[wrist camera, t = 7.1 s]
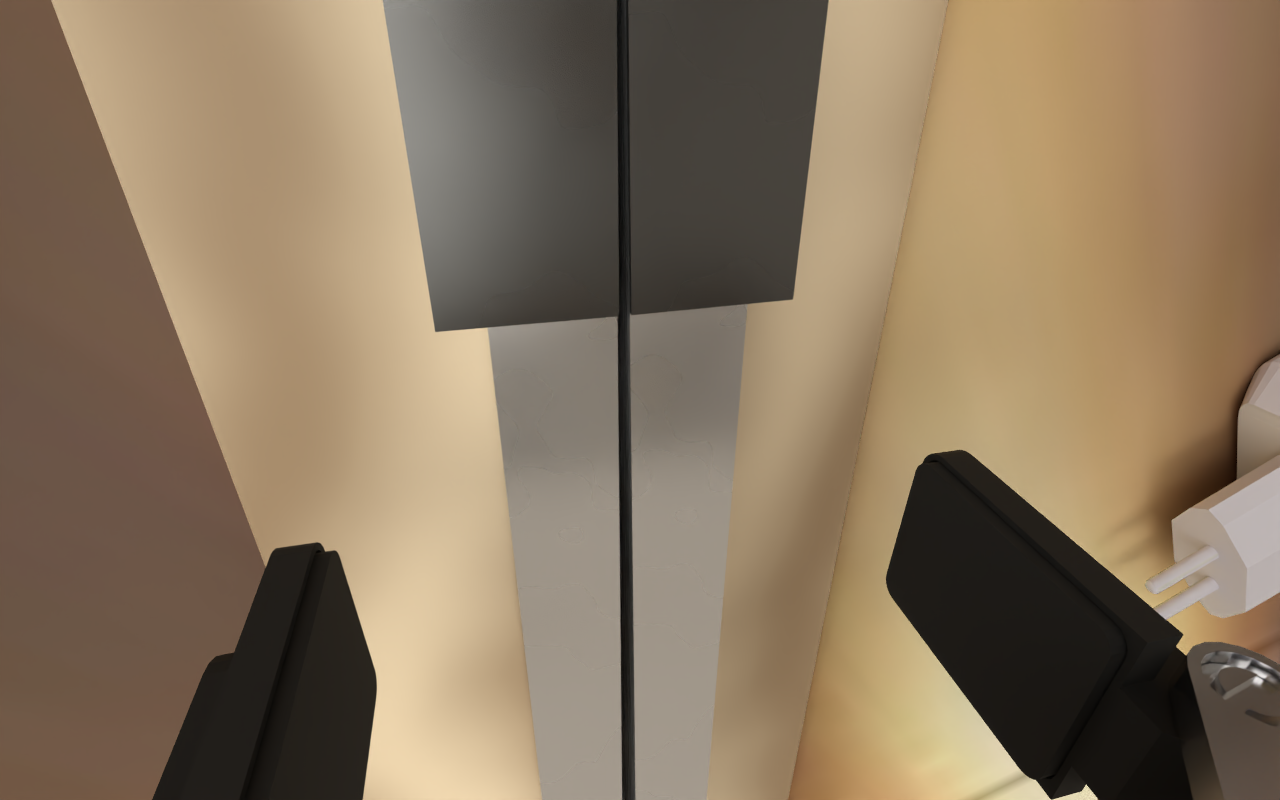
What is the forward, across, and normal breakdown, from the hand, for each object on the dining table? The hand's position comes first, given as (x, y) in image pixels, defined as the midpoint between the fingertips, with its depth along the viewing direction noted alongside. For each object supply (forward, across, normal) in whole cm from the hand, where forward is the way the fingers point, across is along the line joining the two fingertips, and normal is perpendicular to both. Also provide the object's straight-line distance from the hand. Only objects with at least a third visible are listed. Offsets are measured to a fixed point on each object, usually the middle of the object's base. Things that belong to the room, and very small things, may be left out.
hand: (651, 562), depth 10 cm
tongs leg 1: (+3, +2, +2) cm, 4 cm away
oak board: (+4, 0, +5) cm, 7 cm away
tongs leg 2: (+3, -1, +2) cm, 4 cm away
